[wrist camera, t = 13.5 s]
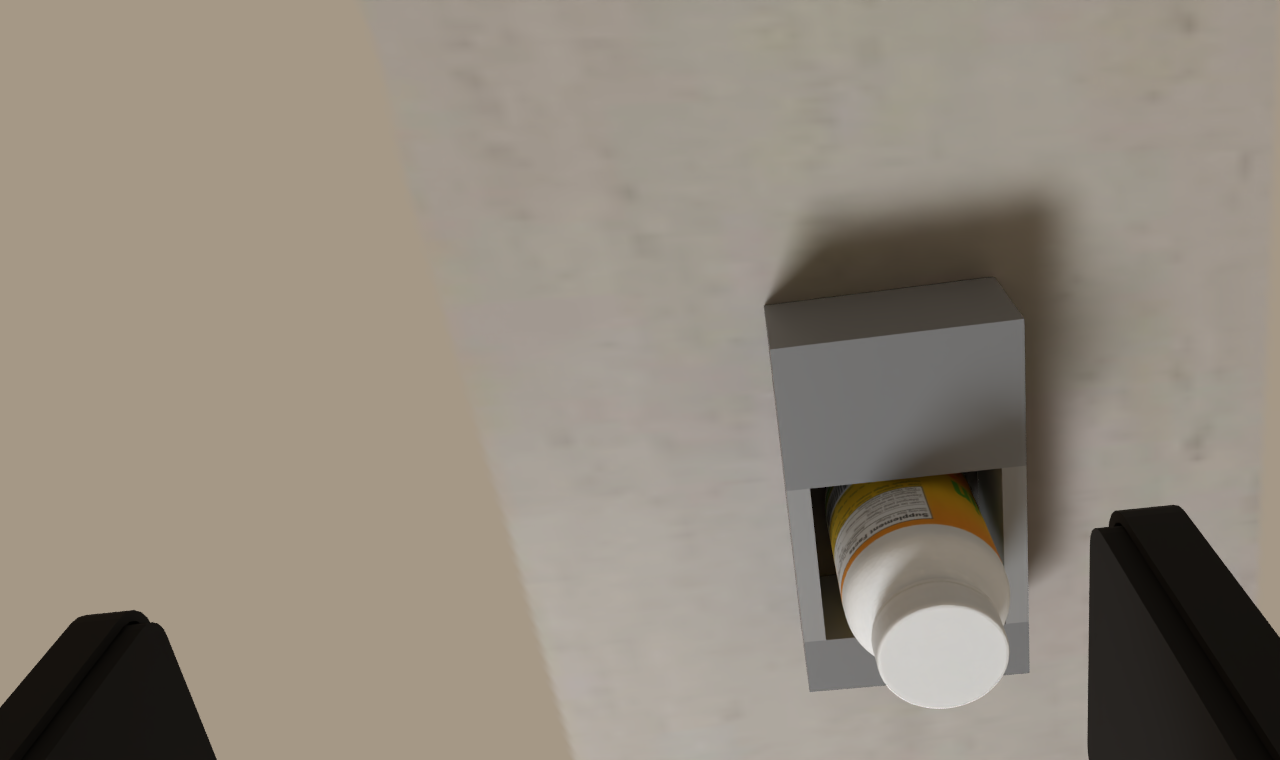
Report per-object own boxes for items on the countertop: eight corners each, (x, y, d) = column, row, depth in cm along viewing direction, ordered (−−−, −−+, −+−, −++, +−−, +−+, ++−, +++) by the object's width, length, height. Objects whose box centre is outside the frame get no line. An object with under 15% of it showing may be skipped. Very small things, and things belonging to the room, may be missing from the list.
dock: (763, 305, 39) (769, 349, 36) (994, 276, 39) (1024, 318, 35) (801, 625, 45) (809, 691, 41) (1002, 607, 44) (1029, 672, 41)
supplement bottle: (985, 525, 43) (1058, 696, 34) (853, 572, 44) (890, 749, 35) (938, 411, 41) (1003, 560, 32) (801, 462, 42) (827, 620, 33)
